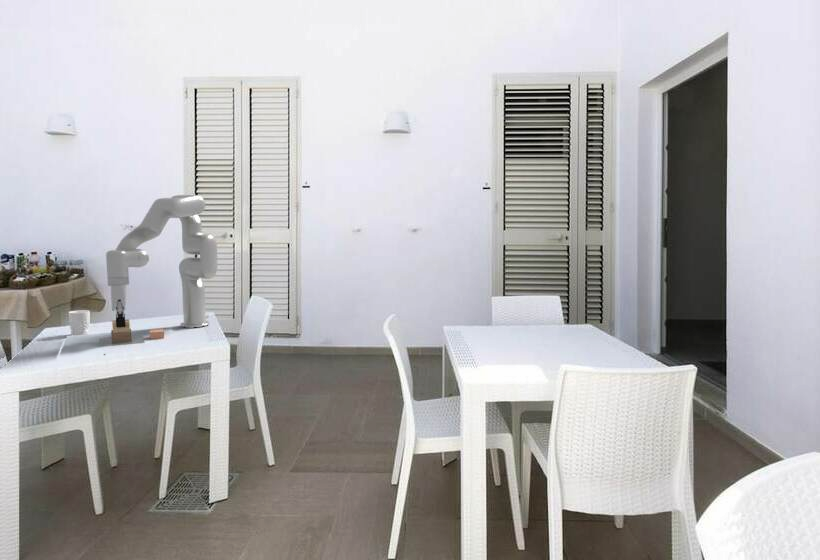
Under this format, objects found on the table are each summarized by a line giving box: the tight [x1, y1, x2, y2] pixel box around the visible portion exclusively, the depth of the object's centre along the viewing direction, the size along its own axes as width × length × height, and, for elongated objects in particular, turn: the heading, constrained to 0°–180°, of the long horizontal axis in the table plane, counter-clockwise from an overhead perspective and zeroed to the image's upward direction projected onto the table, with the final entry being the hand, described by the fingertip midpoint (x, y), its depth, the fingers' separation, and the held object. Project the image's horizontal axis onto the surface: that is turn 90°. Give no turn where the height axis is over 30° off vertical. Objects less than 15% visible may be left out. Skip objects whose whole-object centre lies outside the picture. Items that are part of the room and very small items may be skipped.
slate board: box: [98, 334, 145, 348], centre depth 226 cm, size 16×16×1 cm
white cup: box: [68, 309, 91, 336], centre depth 242 cm, size 8×8×10 cm
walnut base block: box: [110, 328, 132, 343], centre depth 226 cm, size 7×7×4 cm
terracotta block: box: [149, 328, 165, 340], centre depth 232 cm, size 5×5×4 cm
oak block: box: [111, 318, 131, 333], centre depth 225 cm, size 6×6×4 cm
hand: (120, 325), depth 225 cm, fingers open, 7 cm apart
